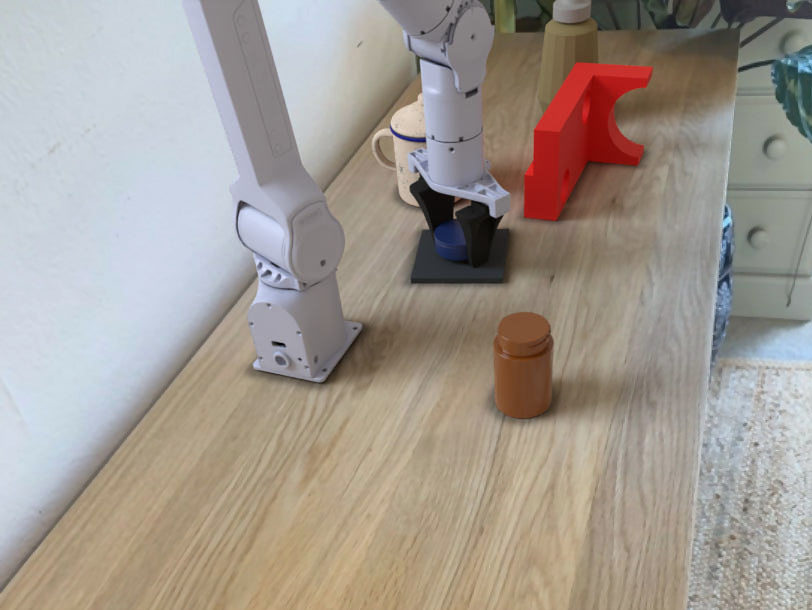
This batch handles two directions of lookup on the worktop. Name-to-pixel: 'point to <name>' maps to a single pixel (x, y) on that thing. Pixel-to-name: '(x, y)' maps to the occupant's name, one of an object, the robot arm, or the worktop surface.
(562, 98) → the bracket
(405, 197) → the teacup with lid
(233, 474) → the worktop surface
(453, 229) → the jar lid
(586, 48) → the squeeze bottle
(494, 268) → the coaster
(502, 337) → the jar
